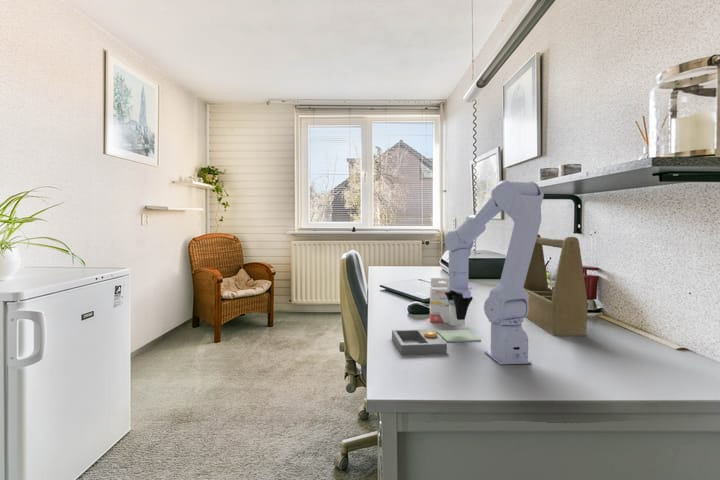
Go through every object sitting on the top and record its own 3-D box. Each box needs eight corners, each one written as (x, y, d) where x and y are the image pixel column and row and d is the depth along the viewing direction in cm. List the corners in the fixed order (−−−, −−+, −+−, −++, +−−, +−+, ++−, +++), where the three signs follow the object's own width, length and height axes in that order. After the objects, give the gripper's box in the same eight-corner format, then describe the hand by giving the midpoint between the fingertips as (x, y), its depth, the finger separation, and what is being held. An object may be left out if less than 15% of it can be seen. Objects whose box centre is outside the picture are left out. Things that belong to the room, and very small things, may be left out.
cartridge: (463, 326, 111) (462, 302, 111) (448, 325, 113) (447, 301, 113) (465, 322, 115) (465, 299, 115) (451, 321, 117) (450, 298, 117)
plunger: (438, 345, 105) (438, 335, 105) (426, 345, 105) (426, 335, 104) (435, 341, 108) (435, 331, 108) (422, 341, 108) (422, 331, 108)
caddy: (588, 336, 115) (590, 236, 113) (551, 335, 115) (553, 236, 114) (546, 313, 144) (548, 233, 143) (517, 313, 145) (519, 233, 143)
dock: (446, 353, 100) (446, 343, 100) (401, 354, 99) (401, 345, 99) (431, 337, 114) (431, 329, 114) (391, 338, 113) (391, 330, 112)
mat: (480, 341, 110) (480, 339, 110) (446, 342, 109) (446, 340, 109) (467, 331, 120) (467, 329, 120) (436, 332, 119) (436, 330, 119)
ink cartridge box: (430, 322, 130) (431, 279, 130) (429, 319, 135) (429, 277, 135) (456, 323, 130) (456, 280, 129) (454, 319, 134) (454, 278, 134)
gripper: (481, 275, 107) (480, 323, 107) (462, 268, 121) (462, 311, 122) (456, 275, 106) (456, 324, 107) (441, 269, 121) (440, 311, 121)
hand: (458, 317), depth 114 cm, fingers closed on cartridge, 4 cm apart
